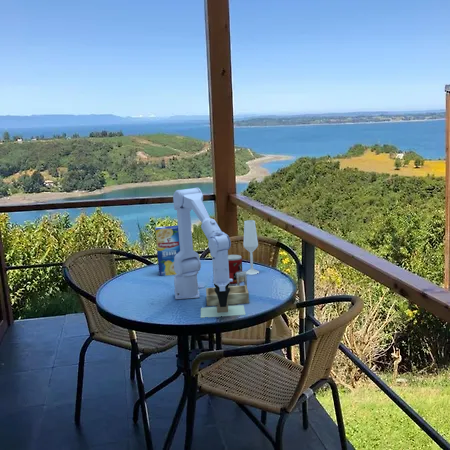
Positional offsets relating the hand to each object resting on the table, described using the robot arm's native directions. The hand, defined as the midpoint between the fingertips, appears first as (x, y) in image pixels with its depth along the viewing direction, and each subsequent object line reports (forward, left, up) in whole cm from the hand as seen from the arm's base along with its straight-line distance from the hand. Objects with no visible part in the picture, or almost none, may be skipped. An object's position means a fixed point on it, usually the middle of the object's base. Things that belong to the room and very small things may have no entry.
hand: (223, 304), depth 185 cm
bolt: (+8, +22, +2) cm, 24 cm away
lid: (0, 0, -3) cm, 3 cm away
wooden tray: (+2, +12, -3) cm, 12 cm away
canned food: (+6, +37, -3) cm, 38 cm away
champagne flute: (+15, +49, -3) cm, 51 cm away
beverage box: (-23, +57, -3) cm, 62 cm away
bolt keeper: (+8, +22, -3) cm, 24 cm away
